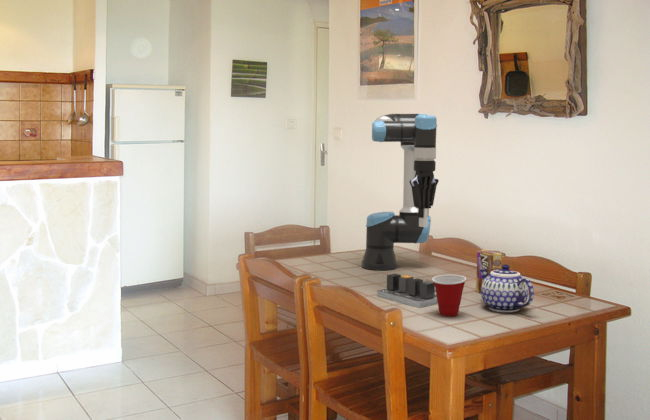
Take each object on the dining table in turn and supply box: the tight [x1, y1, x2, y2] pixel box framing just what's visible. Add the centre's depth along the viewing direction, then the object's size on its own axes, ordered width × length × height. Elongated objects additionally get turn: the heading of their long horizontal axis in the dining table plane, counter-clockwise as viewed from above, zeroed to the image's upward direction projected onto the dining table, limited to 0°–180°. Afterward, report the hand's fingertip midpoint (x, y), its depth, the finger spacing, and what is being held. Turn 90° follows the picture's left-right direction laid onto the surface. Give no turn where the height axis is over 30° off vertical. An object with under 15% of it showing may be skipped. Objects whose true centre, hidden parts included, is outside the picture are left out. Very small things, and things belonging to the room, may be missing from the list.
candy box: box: [475, 249, 503, 294], centre depth 249 cm, size 9×4×15 cm, turn 26°
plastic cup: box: [431, 274, 467, 317], centre depth 221 cm, size 11×11×12 cm
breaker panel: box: [376, 273, 438, 309], centre depth 243 cm, size 20×20×7 cm
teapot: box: [479, 263, 535, 313], centre depth 229 cm, size 25×15×15 cm, turn 25°
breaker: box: [399, 274, 414, 293], centre depth 243 cm, size 4×3×5 cm
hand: (423, 226), depth 246 cm, fingers closed
